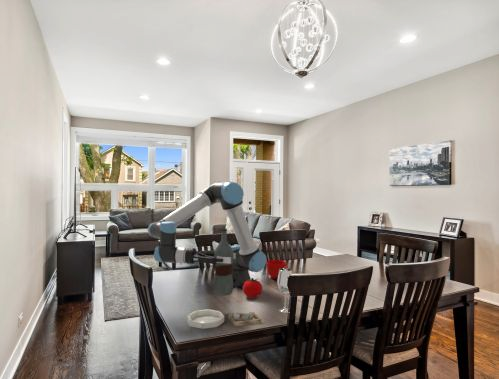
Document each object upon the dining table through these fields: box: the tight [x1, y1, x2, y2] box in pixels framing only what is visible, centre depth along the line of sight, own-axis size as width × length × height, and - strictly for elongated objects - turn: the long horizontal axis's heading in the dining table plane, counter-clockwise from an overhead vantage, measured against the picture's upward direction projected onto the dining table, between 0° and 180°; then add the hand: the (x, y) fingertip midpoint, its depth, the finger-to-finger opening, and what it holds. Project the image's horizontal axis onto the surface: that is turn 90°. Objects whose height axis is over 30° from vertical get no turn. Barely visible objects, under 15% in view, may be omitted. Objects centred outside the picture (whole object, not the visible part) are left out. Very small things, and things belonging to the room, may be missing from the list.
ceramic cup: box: [265, 259, 289, 280], centre depth 216 cm, size 13×17×10 cm
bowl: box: [186, 308, 225, 330], centre depth 145 cm, size 15×15×3 cm
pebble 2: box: [241, 315, 248, 321], centre depth 145 cm, size 3×3×3 cm
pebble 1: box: [233, 312, 240, 321], centre depth 146 cm, size 3×3×3 cm
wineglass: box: [276, 267, 293, 313], centre depth 159 cm, size 8×8×20 cm
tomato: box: [242, 277, 263, 299], centre depth 179 cm, size 10×10×10 cm
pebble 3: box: [246, 311, 254, 319], centre depth 148 cm, size 3×3×3 cm
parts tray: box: [227, 311, 262, 327], centre depth 146 cm, size 12×9×2 cm
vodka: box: [213, 227, 234, 297], centre depth 157 cm, size 9×9×30 cm
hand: (233, 258), depth 156 cm, fingers closed on vodka, 9 cm apart
